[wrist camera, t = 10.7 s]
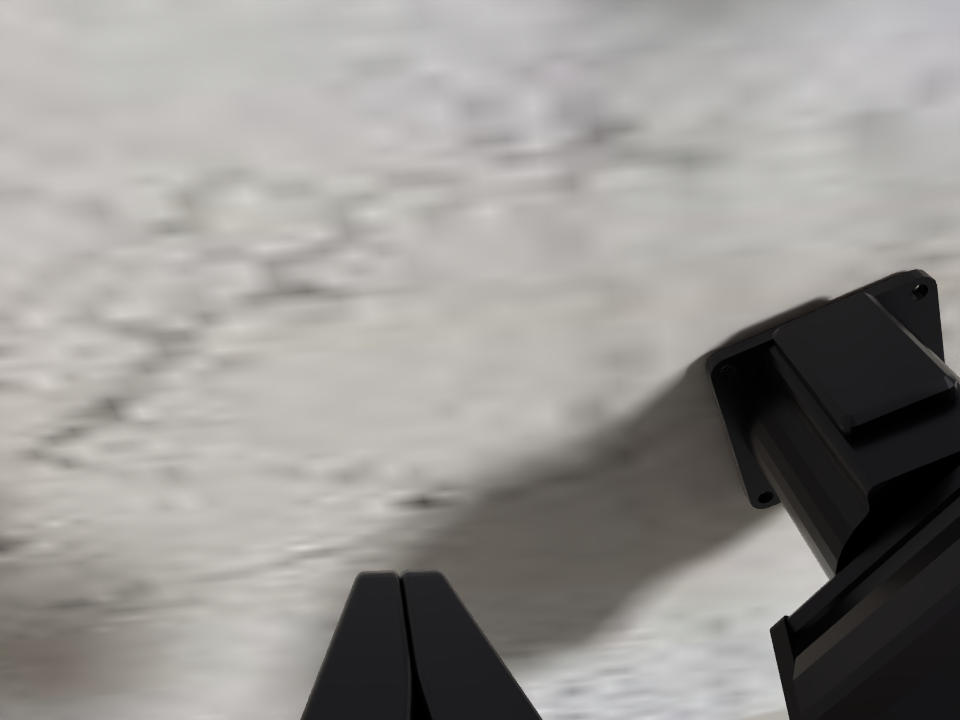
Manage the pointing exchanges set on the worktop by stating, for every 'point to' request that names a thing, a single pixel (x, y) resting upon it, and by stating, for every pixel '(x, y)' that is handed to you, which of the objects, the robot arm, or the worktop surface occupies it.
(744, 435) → the robot arm
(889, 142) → the worktop surface
